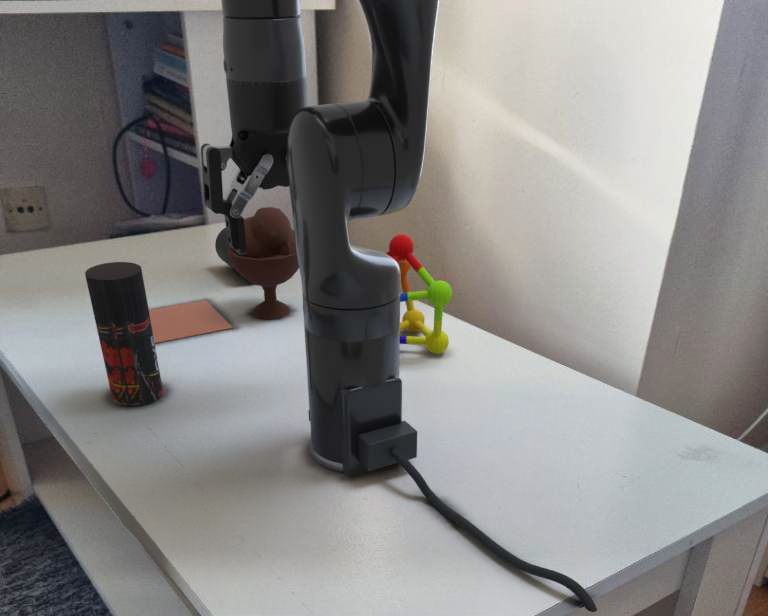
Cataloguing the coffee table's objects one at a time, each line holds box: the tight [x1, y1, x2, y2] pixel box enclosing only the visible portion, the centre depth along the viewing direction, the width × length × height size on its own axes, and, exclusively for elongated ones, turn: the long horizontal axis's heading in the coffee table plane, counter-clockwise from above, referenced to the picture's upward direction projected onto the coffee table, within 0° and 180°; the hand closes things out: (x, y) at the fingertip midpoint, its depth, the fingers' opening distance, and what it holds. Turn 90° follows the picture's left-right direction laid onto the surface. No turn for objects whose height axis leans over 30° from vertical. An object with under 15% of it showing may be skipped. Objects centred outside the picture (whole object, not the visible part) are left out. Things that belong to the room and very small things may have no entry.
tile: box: [149, 299, 234, 344], centre depth 115 cm, size 12×12×1 cm
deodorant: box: [84, 261, 164, 407], centre depth 92 cm, size 6×6×15 cm
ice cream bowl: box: [226, 206, 300, 320], centre depth 113 cm, size 11×11×15 cm
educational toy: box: [384, 233, 453, 355], centre depth 103 cm, size 16×13×15 cm
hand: (279, 246), depth 85 cm, fingers open, 8 cm apart
